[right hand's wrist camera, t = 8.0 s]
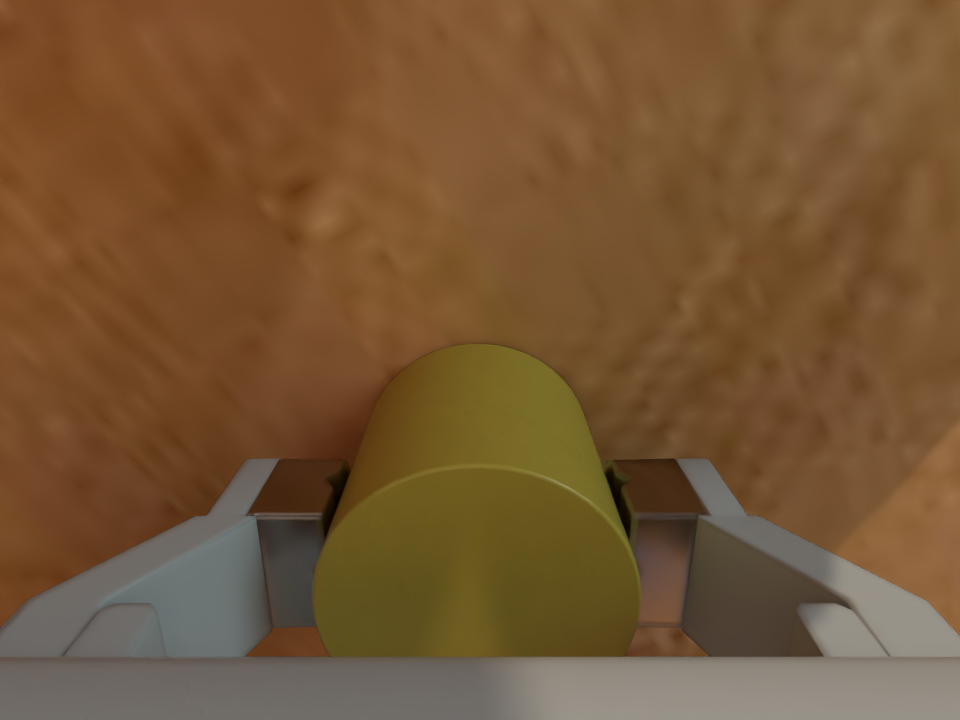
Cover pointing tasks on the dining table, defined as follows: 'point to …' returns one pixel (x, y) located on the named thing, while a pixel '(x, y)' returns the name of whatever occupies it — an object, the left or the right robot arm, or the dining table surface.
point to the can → (477, 522)
